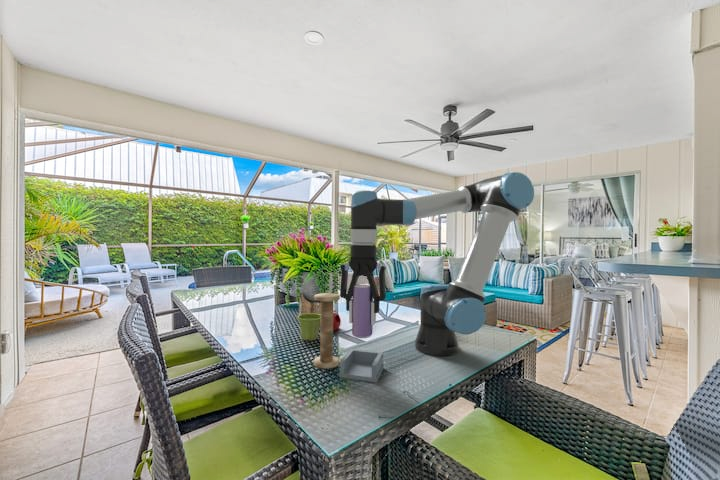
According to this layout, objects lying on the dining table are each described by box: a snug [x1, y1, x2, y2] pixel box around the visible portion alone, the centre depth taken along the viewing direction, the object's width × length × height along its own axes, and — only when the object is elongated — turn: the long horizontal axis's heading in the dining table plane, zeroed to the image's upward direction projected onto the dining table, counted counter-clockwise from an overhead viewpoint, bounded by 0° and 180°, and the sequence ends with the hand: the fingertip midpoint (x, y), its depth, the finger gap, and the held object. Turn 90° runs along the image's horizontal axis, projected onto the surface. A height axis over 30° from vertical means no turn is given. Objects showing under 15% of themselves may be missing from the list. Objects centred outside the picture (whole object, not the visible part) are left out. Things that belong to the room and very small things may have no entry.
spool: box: [313, 292, 341, 370], centre depth 98 cm, size 8×8×22 cm
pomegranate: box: [319, 310, 342, 332], centre depth 133 cm, size 10×10×9 cm
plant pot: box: [297, 313, 321, 341], centre depth 121 cm, size 9×9×9 cm
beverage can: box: [351, 282, 374, 339], centre depth 91 cm, size 6×6×15 cm
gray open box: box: [338, 348, 385, 383], centre depth 92 cm, size 11×10×5 cm
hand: (362, 322), depth 91 cm, fingers closed on beverage can, 6 cm apart
